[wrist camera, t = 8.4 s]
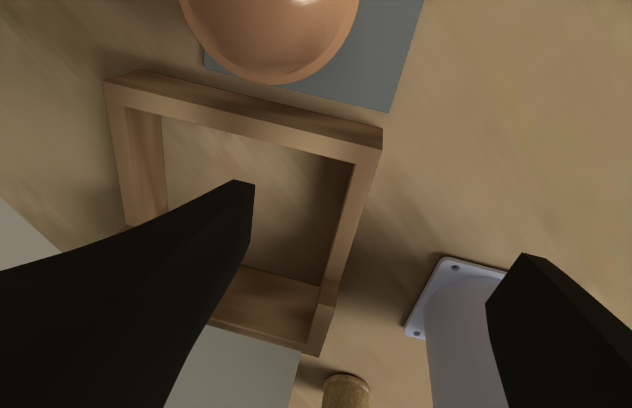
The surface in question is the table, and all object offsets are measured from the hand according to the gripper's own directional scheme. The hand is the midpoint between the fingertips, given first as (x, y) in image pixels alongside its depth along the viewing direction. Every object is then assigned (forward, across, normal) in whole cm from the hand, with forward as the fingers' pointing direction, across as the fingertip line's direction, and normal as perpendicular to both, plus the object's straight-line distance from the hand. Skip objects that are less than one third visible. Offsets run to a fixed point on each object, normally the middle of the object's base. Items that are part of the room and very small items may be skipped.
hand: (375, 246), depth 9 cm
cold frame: (+10, +7, +7) cm, 14 cm away
